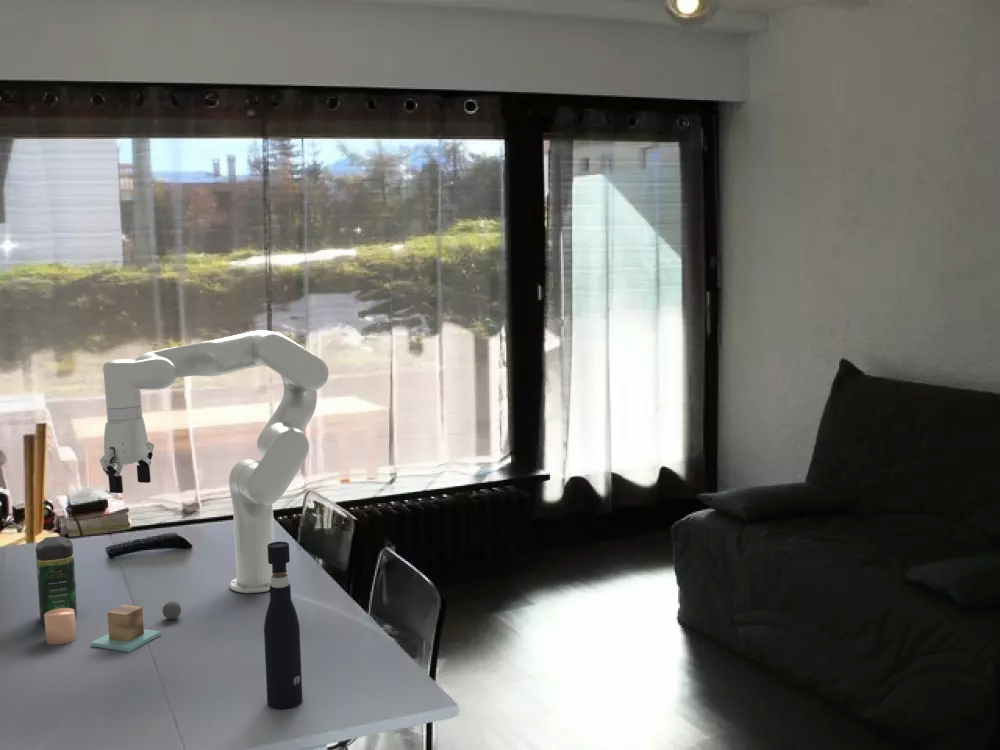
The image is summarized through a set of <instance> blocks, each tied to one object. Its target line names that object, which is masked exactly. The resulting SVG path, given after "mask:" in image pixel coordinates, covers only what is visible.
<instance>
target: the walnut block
mask: <svg viewBox="0 0 1000 750" xmlns="http://www.w3.org/2000/svg"><path fill="white" fill-rule="evenodd" d="M143 613H144V612H143V607H142V606H137V605H130V604H121V605H120V606H118V607H116V608H114V609H111V610H109V611H107V626H108V627H107V628H108V634H109V639H111V640H117V641H124V642H129V641H131V640H133V639H135V638H137V637H139V636H141V635H143V634H144V629H145V628H144V614H143Z"/></svg>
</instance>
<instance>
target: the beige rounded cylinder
mask: <svg viewBox="0 0 1000 750" xmlns="http://www.w3.org/2000/svg"><path fill="white" fill-rule="evenodd" d="M44 618H45V624H44V629H45V630H44V631H45V642H46V644H48V645H52V646H53V645H54V646H55V645H57V644H59V645H64V643H65V644H68V643H72V642H73V641H74V640H76V639H77V628H76V617H75V612H74V609H72V608H58V609H53V610H50V611H48V612H46V613H45V614H44ZM57 646H58V645H57Z"/></svg>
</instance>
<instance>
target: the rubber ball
mask: <svg viewBox="0 0 1000 750" xmlns="http://www.w3.org/2000/svg"><path fill="white" fill-rule="evenodd" d="M181 613H182V608H181V605H180V604H179V602H176V601H174V600H172V601H168V602H166V603H165V604H164V605H163V607H162V615H163V616H164V617H165V618H166V619H168V620H175V619H177V618H178V617H179V616H180V615H181Z"/></svg>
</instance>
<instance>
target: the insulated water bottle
mask: <svg viewBox="0 0 1000 750" xmlns="http://www.w3.org/2000/svg"><path fill="white" fill-rule="evenodd" d="M267 547H268V563H269V564H272V573H273V575H272V576H271V579H270V580H271V585H270V591H269V604H268V607H267V610H266V614H265V619H264V624H263V625H264V626H263V632H264V633H263V637H264V655H265V656H264V657H265V679H266V680H265V681H266V700H267V703H266V704H267V706H268V707H269V708H272V709H275V710H288V709H294V708H296V707H297V706H298V707H299V705H301V704H302V702H303V681H302V680H303V679H302V678H303V677H302V659H301V658H302V655H301V631H300V630H301V629H300V622H299V617H298V614H297V610H296V608H295V606H294V605H295V604H294V603H293V601H292V593H291V591H292V590H291V584H290V580H289V579H290V577H289V574H287V572H288V570H287V564H289V562H290V561H291V560H290V559H291V558H290V544H289V543H288V542H286V541H274V542H273V543H270V544H268V545H267Z"/></svg>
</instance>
